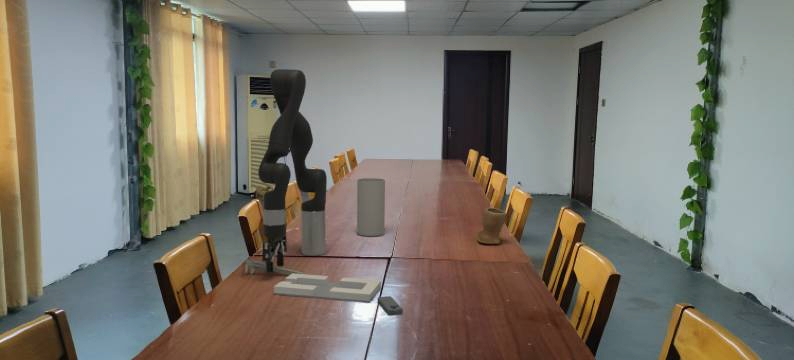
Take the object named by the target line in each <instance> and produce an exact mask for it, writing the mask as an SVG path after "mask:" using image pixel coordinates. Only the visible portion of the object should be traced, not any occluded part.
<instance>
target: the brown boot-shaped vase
mask: <svg viewBox="0 0 794 360" xmlns="http://www.w3.org/2000/svg"><path fill="white" fill-rule="evenodd" d="M506 217H507V214H506V212H505V211H504V210H502V209H500V208H497V207H487V208H485V209H484V211H483V216H482V225H483V230H481V231H477V232H476V235H475V236H476V238H477V240H478V242H479V243H481V244H487V245H495V244H496V245H498V244H501V237H500V232H501V230H502V228H503V226H504V224H505V222H506V219H507V218H506Z"/></svg>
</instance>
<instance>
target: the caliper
mask: <svg viewBox="0 0 794 360" xmlns="http://www.w3.org/2000/svg"><path fill="white" fill-rule="evenodd" d="M251 257H252V256H249V257H248V259H246V261H245V264H244V272H245V275H248V273H249V269H250V267H251V270H250V274H249V275H250V276H251V275H253V274H255V271H256V270H258V271H262V272H266V262H264V261H263V262H262V261H260V260H259V261H258V260H254V257H252V258H251ZM273 272H276V273H280V274H284V275H285V274H286V275H288V276H289V275H291V274H292V273H294V274H303V272H301V271H297V270H293V269H288V268H284V267H281V266H275V265H273Z"/></svg>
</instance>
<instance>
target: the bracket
mask: <svg viewBox="0 0 794 360" xmlns="http://www.w3.org/2000/svg"><path fill="white" fill-rule="evenodd" d="M377 304H378V305H379V306H380V307H381V309H382V310H383V311H384V313H385V314H386V315H387V316H388V317H389V316H398V315H403V308H402V307H401V306H400V305H399V304H398V302H397V301H396V300H395V299H394V297H392V296H391V295H389V296H388V295H387V296H379V297H377Z"/></svg>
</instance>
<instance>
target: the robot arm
mask: <svg viewBox="0 0 794 360" xmlns="http://www.w3.org/2000/svg"><path fill="white" fill-rule="evenodd" d="M269 78H270V79H269V84H270V87H271V92H272V94H273V98H274V101H275V103H276V105H277V108H278V112H279V114H280V115H279V117H278V118H277V119H276V120H275V122H274V124H272V125H273V126H272V127H271V130H270V133H269V139H268V145H267V149H266V150H265V153H264V156H263V157H262V160H261V162H260V164H259V166H258V171H257V173H258V179H259V180H260V181H261V182H262V183H263V184H271V185H274V188H273V189H272V190H269V191H268V190H267V191H266V192H265V193H264V194H263V216H262V217H263V222H262V224H263V225H262V226H263V228H262V229H263V237H265V238H267V242H263V243H262V258H261V261H263V262H264V263H266V271H265V272H266V273H267V274H273V273H274V271H273V266H274V259H275V257H276V265H277V266H276V267H284V265H285V262H284V261H285V255H286V253H287V251H288V248H287V247H288V244H287V240H288V239H287V211H286V196H287V192H288V189H289V184H290V180H291V174H292V173H291V169H290V167H289V166H288V164H286V163H283V162H278V160H279V159H280V158H285V157H288V155H289V151H290V155H291V159H292V164H293V169H294V174H295V175H294V176H295V180H296V185H297V188H298V190H299V191H300V192H303V193H312V194H313V193H314V196H313V198H311V199H309V200H306V201H303V202H301V204H300V207H301V208H300V209H301V211H300V212H301V214H300V215H301V224H300V225H301V254H302V255H304V256H321V255H325V253H326V202H327V184H328V183H327V173H326V171H325V170H324V169H322V168H307V165H306V158H307V156H308V154H309V152H310V150H311V148H312V146H313V142H314V137H313V133H312V129H311V125H310V123H309V121H308V120H307V118H305V116H304V115H303V114H302V113H301V112H300V108H301V106H302V105H301V104H302V102H303V98H304V96H305V92H306V91H305V90H306V87H307V79H306V75H305V73H304V72H303V71H302V70H300V69H292V68H291V69H288V68H286V69H282V68H278V69H274V70H272V72H271V73H270V77H269Z"/></svg>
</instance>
